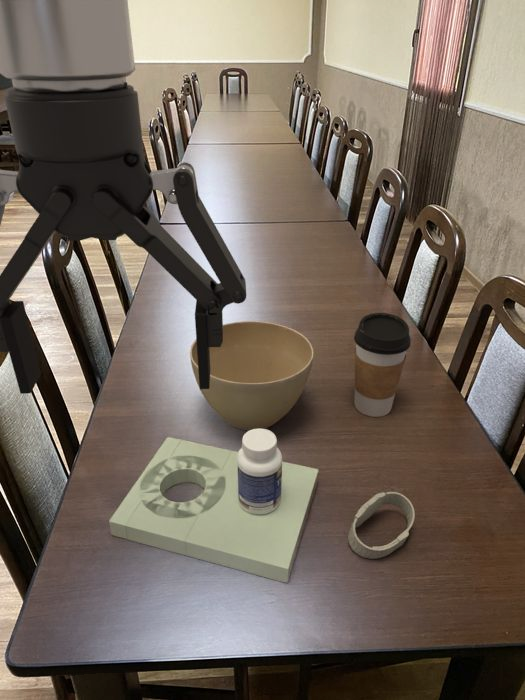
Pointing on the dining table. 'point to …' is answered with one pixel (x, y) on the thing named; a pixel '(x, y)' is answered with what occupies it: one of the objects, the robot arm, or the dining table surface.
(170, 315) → the dining table surface
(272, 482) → the pill bottle
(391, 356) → the coffee cup
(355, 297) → the dining table surface
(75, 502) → the dining table surface
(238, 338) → the tan round bowl
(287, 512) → the pale green flat block
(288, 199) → the dining table surface
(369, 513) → the wristwatch
